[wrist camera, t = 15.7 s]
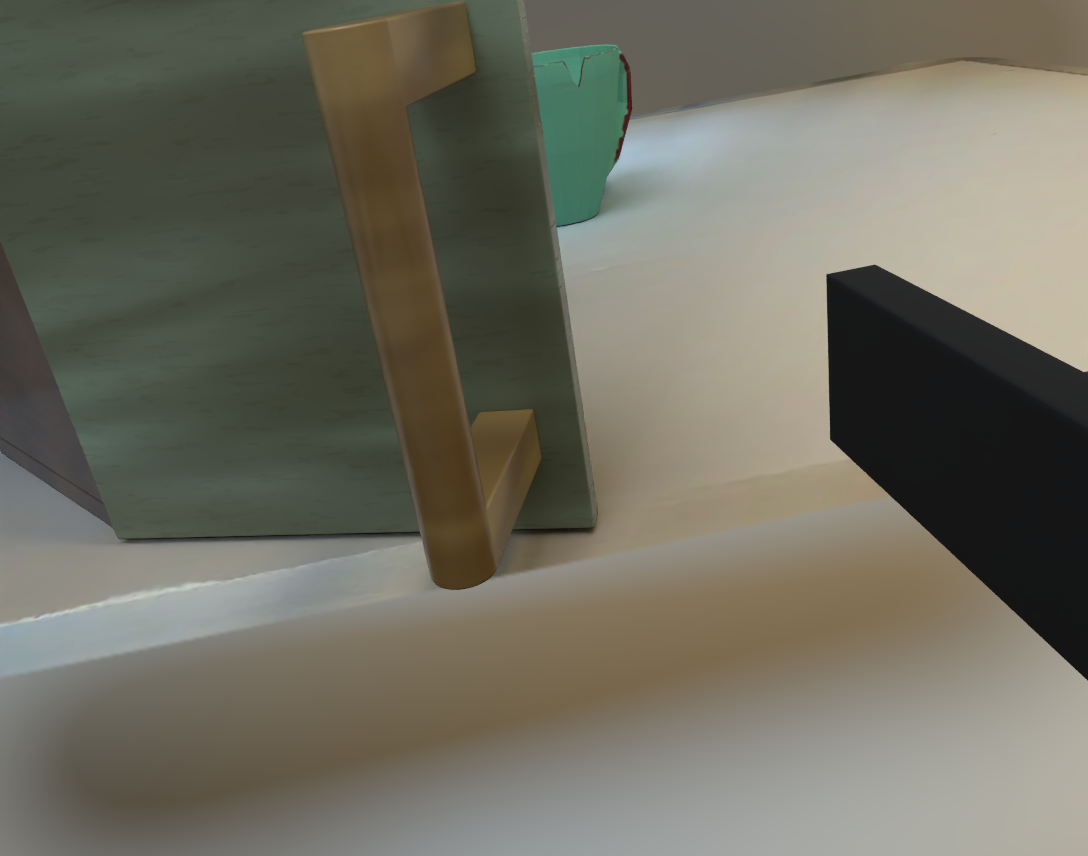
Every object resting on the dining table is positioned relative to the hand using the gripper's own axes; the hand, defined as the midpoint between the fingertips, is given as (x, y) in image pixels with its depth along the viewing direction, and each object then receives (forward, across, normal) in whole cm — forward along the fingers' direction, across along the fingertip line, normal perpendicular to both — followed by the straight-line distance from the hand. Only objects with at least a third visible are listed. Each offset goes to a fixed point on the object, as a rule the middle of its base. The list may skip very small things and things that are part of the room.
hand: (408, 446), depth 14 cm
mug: (+52, +12, -9) cm, 55 cm away
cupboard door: (+11, -4, -9) cm, 15 cm away
